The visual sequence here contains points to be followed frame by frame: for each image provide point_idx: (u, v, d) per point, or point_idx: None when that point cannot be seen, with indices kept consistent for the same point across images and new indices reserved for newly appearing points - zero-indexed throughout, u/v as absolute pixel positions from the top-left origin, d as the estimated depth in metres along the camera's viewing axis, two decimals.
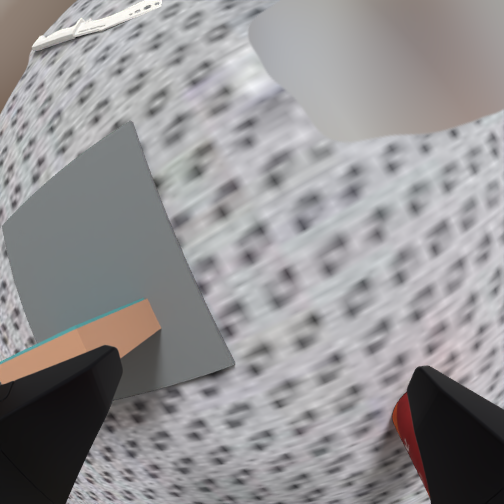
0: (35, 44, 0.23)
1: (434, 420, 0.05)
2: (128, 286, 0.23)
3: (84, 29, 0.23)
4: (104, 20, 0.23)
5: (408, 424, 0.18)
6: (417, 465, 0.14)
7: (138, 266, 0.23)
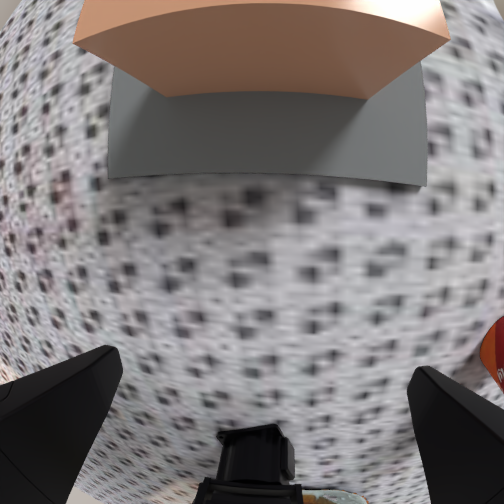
0: None
1: (434, 420, 0.05)
2: None
3: None
4: None
5: None
6: None
7: None
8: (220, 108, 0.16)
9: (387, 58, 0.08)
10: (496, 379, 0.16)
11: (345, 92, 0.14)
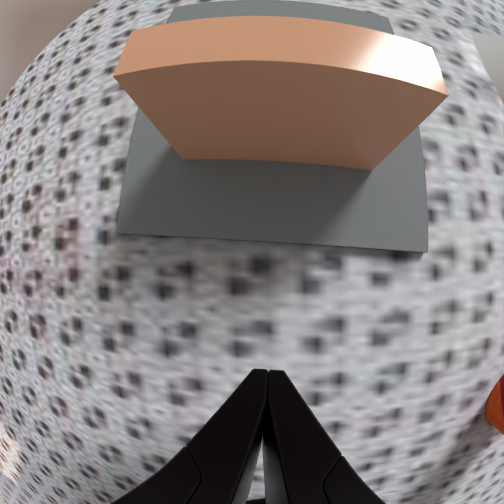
0: None
1: (266, 433, 0.05)
2: None
3: None
4: None
5: None
6: None
7: None
8: (233, 175, 0.18)
9: (393, 122, 0.11)
10: None
11: (351, 163, 0.17)
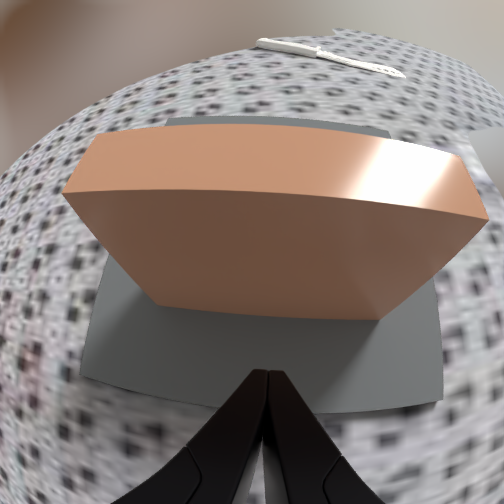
0: (263, 40, 0.35)
1: (266, 434, 0.05)
2: None
3: (327, 55, 0.34)
4: (347, 59, 0.34)
5: None
6: None
7: None
8: (215, 331, 0.15)
9: (416, 265, 0.09)
10: None
11: (357, 315, 0.14)
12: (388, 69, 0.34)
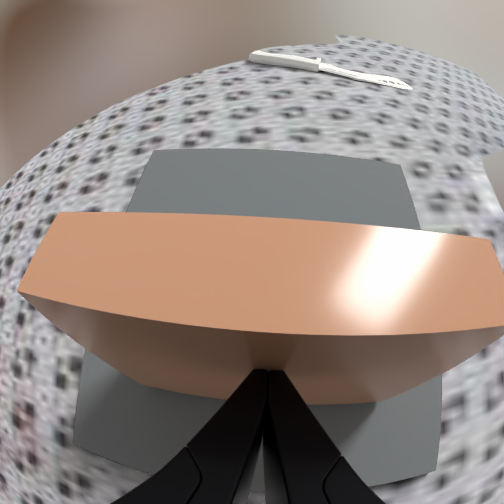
0: (257, 53, 0.33)
1: (266, 434, 0.05)
2: None
3: (330, 68, 0.32)
4: (351, 72, 0.32)
5: None
6: None
7: None
8: (206, 417, 0.13)
9: (429, 368, 0.07)
10: None
11: (358, 401, 0.12)
12: (393, 80, 0.32)
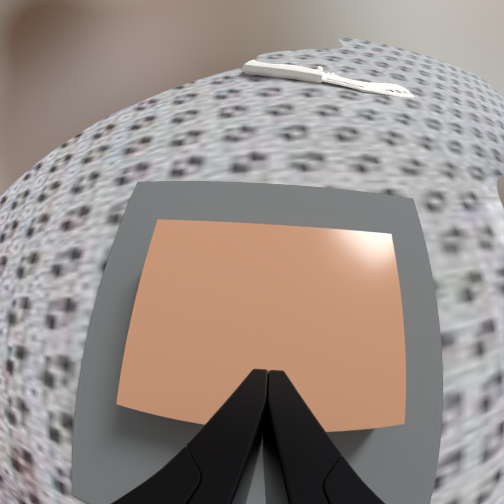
0: (251, 63, 0.30)
1: (266, 434, 0.05)
2: None
3: (333, 79, 0.29)
4: (356, 82, 0.30)
5: None
6: None
7: None
8: None
9: (377, 285, 0.13)
10: None
11: (372, 410, 0.10)
12: (399, 89, 0.30)
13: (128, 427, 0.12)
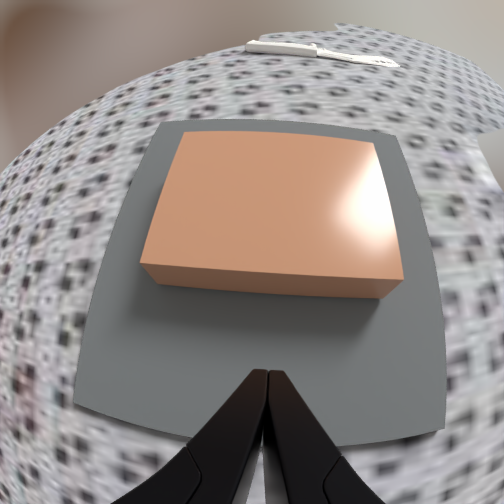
0: (253, 43, 0.31)
1: (266, 434, 0.05)
2: None
3: (327, 53, 0.31)
4: (346, 55, 0.32)
5: None
6: None
7: None
8: (210, 364, 0.14)
9: (363, 172, 0.15)
10: None
11: (371, 262, 0.13)
12: (383, 60, 0.33)
13: (143, 310, 0.15)
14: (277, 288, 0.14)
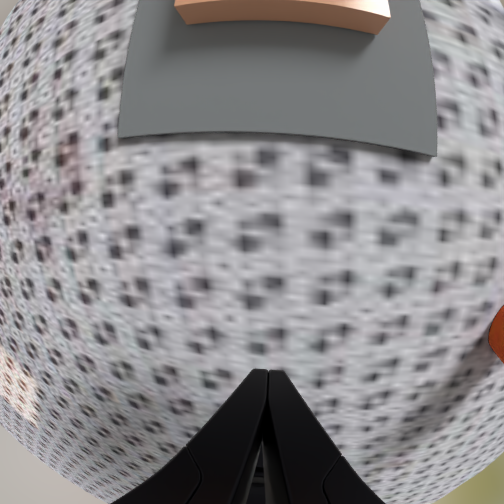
0: None
1: (266, 434, 0.05)
2: None
3: None
4: None
5: None
6: None
7: None
8: (236, 70, 0.15)
9: None
10: None
11: (362, 1, 0.10)
12: None
13: (176, 44, 0.15)
14: (288, 15, 0.13)
